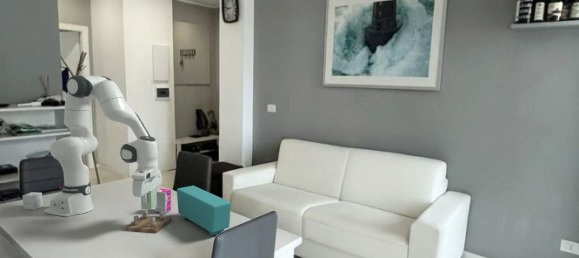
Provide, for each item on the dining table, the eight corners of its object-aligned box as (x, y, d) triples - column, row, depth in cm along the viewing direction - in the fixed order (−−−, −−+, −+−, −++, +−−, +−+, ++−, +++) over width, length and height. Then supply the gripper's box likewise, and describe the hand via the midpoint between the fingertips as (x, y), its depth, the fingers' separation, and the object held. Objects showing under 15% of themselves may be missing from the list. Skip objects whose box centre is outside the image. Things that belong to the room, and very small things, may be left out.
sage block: (141, 209, 163) (140, 190, 161) (146, 205, 167) (146, 187, 166) (151, 209, 162) (151, 190, 161) (156, 206, 167) (156, 187, 166)
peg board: (125, 230, 159) (124, 218, 159) (142, 218, 174) (142, 207, 173) (156, 233, 158) (156, 221, 157) (171, 220, 172) (171, 209, 172)
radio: (233, 233, 160) (233, 201, 158) (213, 240, 153) (213, 206, 151) (195, 212, 184) (195, 184, 182) (176, 217, 177) (176, 188, 175)
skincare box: (43, 205, 187) (42, 192, 186) (33, 209, 181) (32, 196, 180) (32, 205, 187) (31, 191, 186) (23, 209, 181) (22, 195, 180)
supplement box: (165, 213, 180) (165, 192, 179) (155, 212, 181) (154, 191, 180) (171, 210, 186) (171, 189, 185) (161, 208, 187) (161, 188, 186)
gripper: (153, 165, 173) (153, 192, 175) (129, 176, 153) (130, 207, 155) (165, 166, 172) (165, 193, 174) (143, 177, 152) (143, 208, 154)
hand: (148, 200), depth 164 cm, fingers closed on sage block, 5 cm apart
